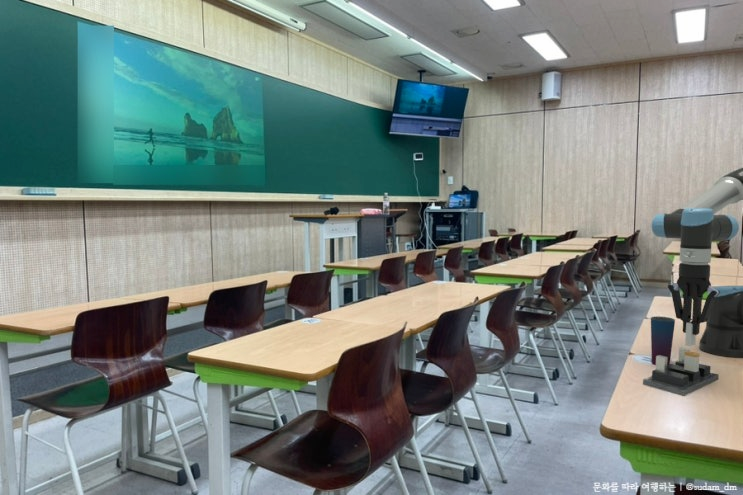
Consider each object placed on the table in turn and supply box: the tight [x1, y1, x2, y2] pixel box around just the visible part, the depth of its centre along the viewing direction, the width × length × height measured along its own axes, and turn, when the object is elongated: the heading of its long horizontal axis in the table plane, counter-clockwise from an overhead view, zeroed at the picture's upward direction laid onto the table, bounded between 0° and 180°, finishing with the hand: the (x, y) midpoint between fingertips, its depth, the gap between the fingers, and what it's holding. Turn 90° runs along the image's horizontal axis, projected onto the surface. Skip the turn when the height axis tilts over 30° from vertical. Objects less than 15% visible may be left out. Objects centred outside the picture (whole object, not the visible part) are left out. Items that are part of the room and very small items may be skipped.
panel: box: [642, 346, 720, 397], centre depth 151 cm, size 22×11×8 cm, turn 126°
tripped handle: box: [684, 350, 701, 372], centre depth 148 cm, size 2×3×5 cm
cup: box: [650, 315, 676, 366], centre depth 167 cm, size 7×7×15 cm
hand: (690, 344), depth 148 cm, fingers closed
